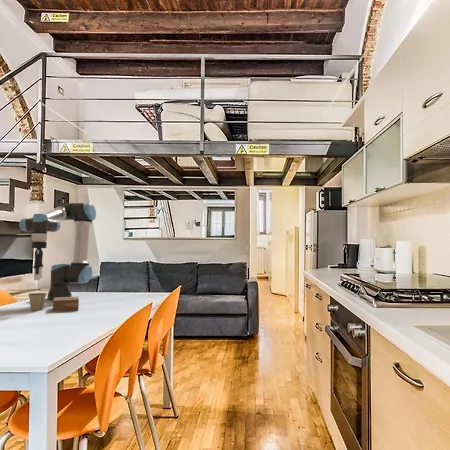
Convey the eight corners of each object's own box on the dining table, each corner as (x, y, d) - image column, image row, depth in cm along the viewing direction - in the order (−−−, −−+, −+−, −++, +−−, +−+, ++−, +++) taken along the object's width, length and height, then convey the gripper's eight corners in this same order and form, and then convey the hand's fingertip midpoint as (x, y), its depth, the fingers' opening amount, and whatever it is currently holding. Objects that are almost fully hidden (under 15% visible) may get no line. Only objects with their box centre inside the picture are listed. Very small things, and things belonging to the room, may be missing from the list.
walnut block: (53, 308, 227) (54, 297, 228) (78, 307, 232) (78, 296, 232) (52, 311, 215) (53, 300, 216) (78, 310, 220) (78, 299, 220)
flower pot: (49, 308, 226) (50, 293, 226) (40, 311, 216) (40, 295, 217) (33, 308, 227) (34, 292, 227) (24, 310, 217) (24, 294, 218)
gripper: (34, 241, 234) (32, 277, 233) (29, 240, 210) (28, 281, 209) (48, 241, 236) (46, 277, 235) (45, 241, 213) (43, 281, 212)
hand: (37, 279), depth 222 cm, fingers open, 13 cm apart
